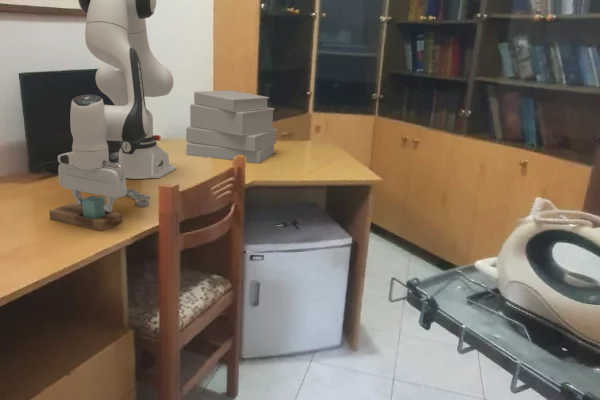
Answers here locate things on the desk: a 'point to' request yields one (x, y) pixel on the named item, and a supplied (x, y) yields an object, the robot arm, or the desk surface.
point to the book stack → (230, 126)
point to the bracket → (138, 198)
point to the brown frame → (75, 216)
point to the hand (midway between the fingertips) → (94, 208)
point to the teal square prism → (93, 207)
